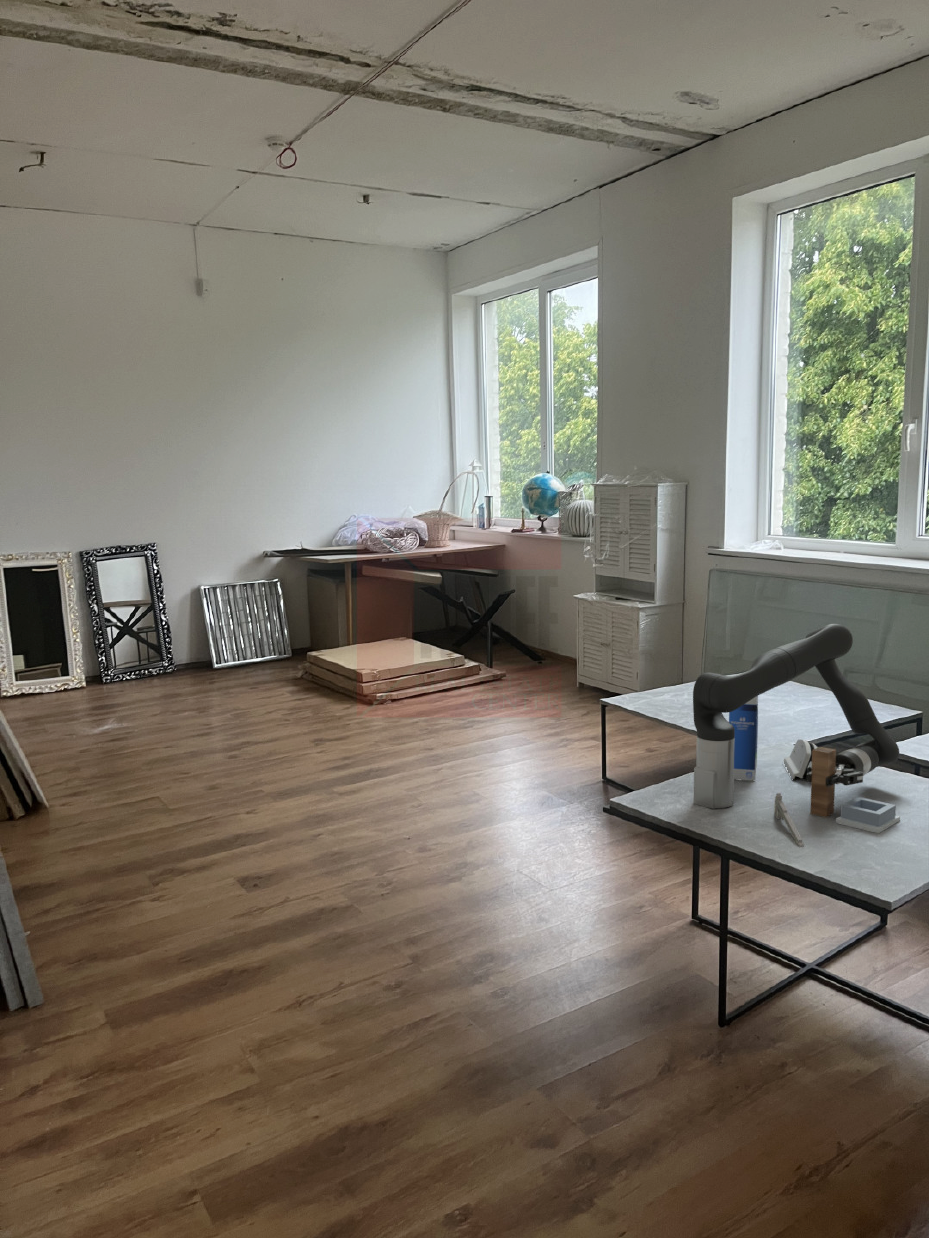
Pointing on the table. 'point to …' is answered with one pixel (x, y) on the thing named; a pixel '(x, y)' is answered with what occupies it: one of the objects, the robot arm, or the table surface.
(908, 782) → the table surface
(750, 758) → the string lights box
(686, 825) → the table surface
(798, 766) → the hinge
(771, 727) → the table surface
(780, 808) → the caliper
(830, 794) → the walnut rail
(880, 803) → the base
